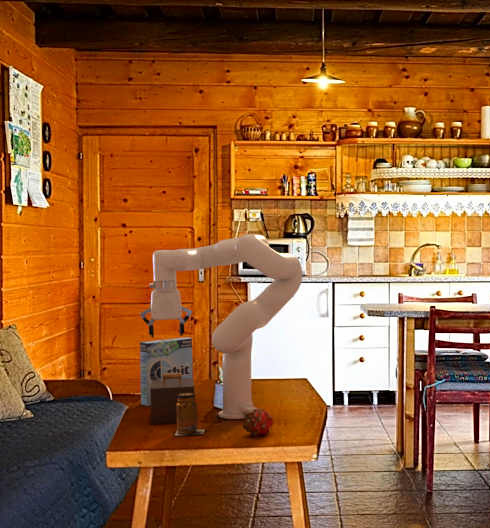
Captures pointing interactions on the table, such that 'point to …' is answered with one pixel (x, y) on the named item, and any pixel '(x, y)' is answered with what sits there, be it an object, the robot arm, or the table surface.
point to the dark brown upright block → (172, 382)
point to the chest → (165, 405)
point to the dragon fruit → (258, 422)
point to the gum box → (163, 362)
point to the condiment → (187, 415)
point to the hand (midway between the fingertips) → (166, 336)
